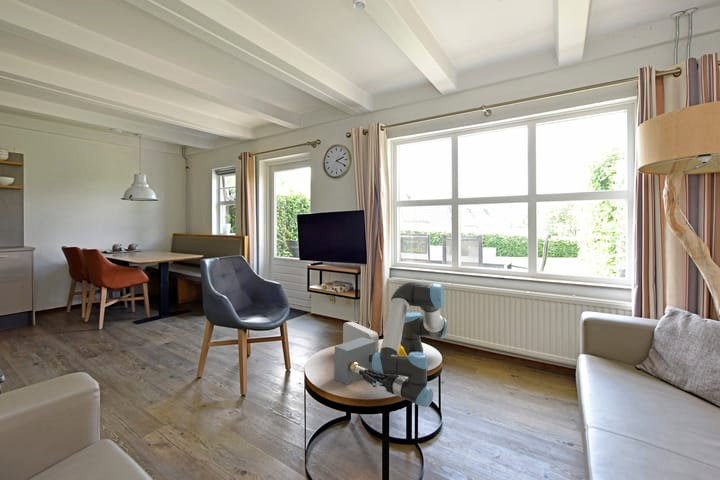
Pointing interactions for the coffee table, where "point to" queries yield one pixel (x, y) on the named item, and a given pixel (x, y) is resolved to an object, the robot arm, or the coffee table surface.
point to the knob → (352, 366)
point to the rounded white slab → (358, 333)
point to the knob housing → (352, 358)
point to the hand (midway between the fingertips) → (356, 368)
